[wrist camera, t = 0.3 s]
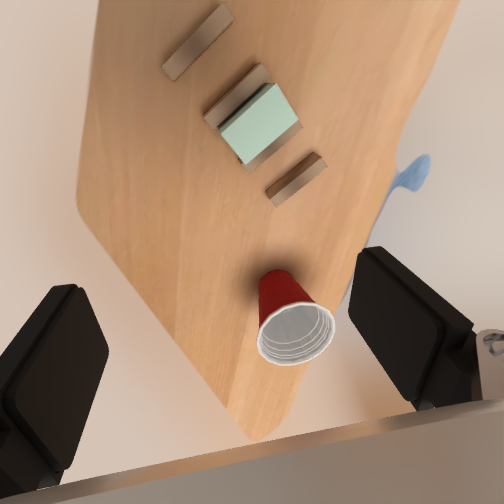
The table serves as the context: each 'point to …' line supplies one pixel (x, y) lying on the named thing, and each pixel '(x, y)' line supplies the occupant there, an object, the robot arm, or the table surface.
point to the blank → (257, 122)
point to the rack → (236, 97)
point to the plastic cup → (290, 321)
